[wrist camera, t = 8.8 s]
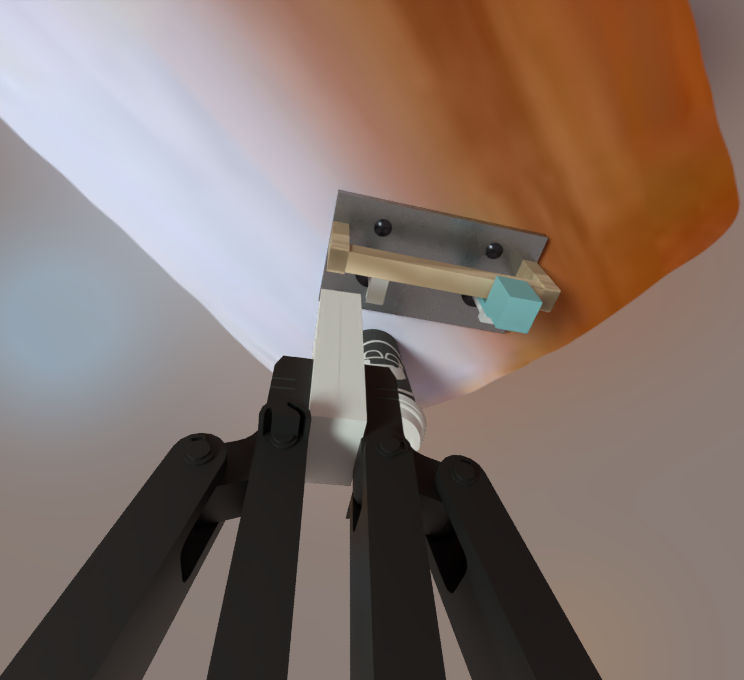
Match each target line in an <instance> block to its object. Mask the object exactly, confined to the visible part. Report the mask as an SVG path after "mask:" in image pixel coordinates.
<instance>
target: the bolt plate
mask: <svg viewBox="0 0 744 680" xmlns="http://www.w3.org/2000/svg"><path fill="white" fill-rule="evenodd" d="M333 221H337V222H342V223H347V224H349V244H352V245H357V246H362V247H367V248H372V249H377V250H382V251H387V252H392V253H397V254H403V255H408V256H413V257H418V258H423V259H428V260H433V261H438V262H443V263H448V264H453V265H458V266H463V267H468V268H473V269H478V270H483V271H488V272H494V273H499V274H504V275H509V276H514V277H516V275H517V272H518V270H519V268H520V266H521V263H522V261H523V260H527V261H532V262H537V261H538V259H539V257H540V255H541V253H542V250H543V248H544V246H545V244H546V242H547V240H548V237H547V236H546V235H545V234H540V233H536V232H531V231H526V230H522V229H517V228H513V227H508V226H503V225H499V224H494V223H490V222H485V221H480V220H476V219H471V218H467V217H462V216H457V215H453V214H448V213H444V212H439V211H434V210H430V209H425V208H421V207H416V206H411V205H407V204H402V203H397V202H393V201H388V200H384V199H379V198H374V197H370V196H365V195H361V194H356V193H351V192H347V191H342V190H338V196H337V201H336V207H335V212H334V217H333ZM332 225H333V223H332ZM331 230H332V228H331ZM330 236H331V234H330ZM329 241H330V239H329ZM328 250H329V245H328ZM328 250H327V256H326V261H325V267H324V272H323V277H322V283H321V288H320V294H319V301H320V295H321V289H327V290H334V291H341V292H348V293H355V294H361V308H362V309H367V310H373V311H379V312H385V313H390V314H396V315H402V316H407V317H413V318H419V319H425V320H430V321H436V322H442V323H448V324H453V325H459V326H465V327H470V328H476V329H482V330H488V331H493V332H499V333H504V332H505V330H504V329H498V328H496V327H495V325H494V324H489V323H483V322H480V320H479V318H478V315H479V313H480V312H479V310H478V308H477V306H476V304H475V302H474V300H473V297H472V296H469V295H464V294H459V293H453V292H448V291H443V290H437V289H432V288H427V287H421V286H416V285H410V284H405V283H400V282H394V281H389V283H388V287H387V291H386V294H385V298H384V302H383V305H378V304H373V303H367V302H366V293H367V289H368V276H362V275H357V274H352V273H346V272H345V273H344V274H341V273H335V272H330V271H327V262H328Z"/></svg>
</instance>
